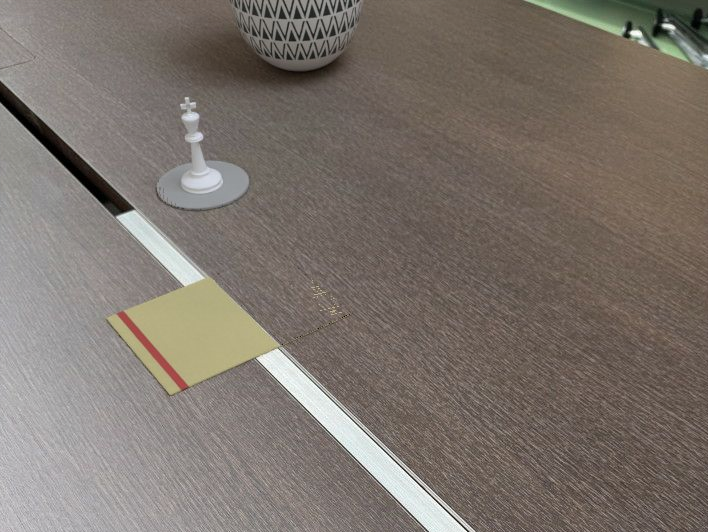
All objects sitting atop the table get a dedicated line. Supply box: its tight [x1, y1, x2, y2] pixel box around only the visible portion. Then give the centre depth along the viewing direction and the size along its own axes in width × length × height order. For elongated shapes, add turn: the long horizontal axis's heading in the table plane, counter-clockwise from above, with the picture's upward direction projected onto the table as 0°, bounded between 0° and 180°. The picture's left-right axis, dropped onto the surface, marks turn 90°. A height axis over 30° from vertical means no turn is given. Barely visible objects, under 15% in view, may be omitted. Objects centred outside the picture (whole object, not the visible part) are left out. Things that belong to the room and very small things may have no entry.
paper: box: [105, 276, 353, 396], centre depth 84 cm, size 20×14×1 cm
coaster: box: [155, 160, 250, 211], centre depth 100 cm, size 11×11×1 cm
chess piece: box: [179, 96, 223, 194], centre depth 96 cm, size 5×5×10 cm
